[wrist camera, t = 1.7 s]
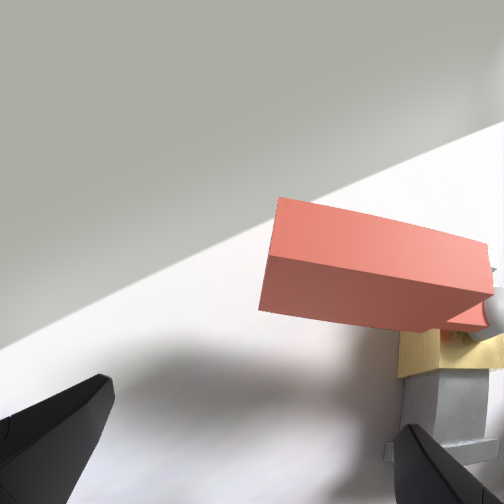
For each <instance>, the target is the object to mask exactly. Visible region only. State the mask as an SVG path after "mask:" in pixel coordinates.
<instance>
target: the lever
mask: <svg viewBox="0 0 504 504" xmlns="http://www.w3.org/2000/svg"><path fill="white" fill-rule="evenodd" d="M258 310H260V311H266V312H271V313H277V314H283V315H289V316H296V317H302V318H308V319H315V320H321V321H328V322H335V323H342V324H349V325H357V326H364V327H372V328H380V329H389V330H397V331H406V332H415V333H424V332H426V331H428V330H430V329H442V330H452V331H463V332H467V333H468V334H469V336H470V337H471V338H472V339H473V340H475V341H478V342H482V341H485V340H488V339H490V338H492V337H495V336H497V335H500V334H502V333H504V288H502V287H499V286H495V287H494V284H493V276H492V269H491V263H490V257H489V251H488V246H487V244H485V243H482V242H478V241H474V240H471V239H467V238H463V237H460V236H456V235H452V234H448V233H444V232H440V231H437V230H433V229H429V228H425V227H420V226H416V225H412V224H408V223H404V222H400V221H395V220H391V219H386V218H382V217H378V216H373V215H368V214H364V213H359V212H354V211H350V210H345V209H340V208H335V207H330V206H325V205H320V204H314V203H309V202H304V201H298V200H293V199H287V198H281V197H279V199H278V205H277V210H276V215H275V221H274V226H273V232H272V237H271V242H270V247H269V253H268V258H267V263H266V269H265V274H264V280H263V286H262V291H261V297H260V303H259V308H258Z"/></svg>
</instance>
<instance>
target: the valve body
mask: <svg viewBox="0 0 504 504" xmlns="http://www.w3.org/2000/svg"><path fill="white" fill-rule="evenodd" d="M488 251H489V257H490V263H491V269H492V272H494V271H495V270H497V269H498V262H497V257H496V252H495V251H492V250H488ZM495 286H499V285H496V284H494V287H495ZM503 368H504V336H503V333H502V334H500V335H497V336H495V337H492V338H490V339H488V340H485V341H482V342H478V341H475V340H473V339H472V338H471V337H470V336H469V334H468V333H467V332H463V331H452V330H442V329H430V330H428V331H426V332H424V333H415V332H406V331H400V343H399V360H398V374H397V378H404V379H405V385H404V395H403V404H402V413H401V420H400V428H399V432H400V431H401V429H402V428H403V426H404V425H406V424H412V423H416V424H418V425H420V426H421V427H422V428H423V429H424V430H425V431H426V432H427V433H428V434H429V435H430V436H431V437H432V438H433V439H435V440H436V441H437V442H438V443H439V444H440V445H441V446H442V447H443V448H444V449H445V450H446V451H447V452H448V453H449V454H450V455H452V456H453V457H454V458H455V459H456V460H457V461H458V462H459V463H460V464H461V465H462V466H465V465H470V464H474V463H479V462H483V461H487V460H491V459H495V458H498V453H499V447H500V441H501V438H484V433H485V425H486V415H487V404H488V390H489V372H492V371H496V370H499V369H503ZM393 443H394V442H386V447H385V452H384V458H383V461H387V462H390V463H393V464H394V456H393Z"/></svg>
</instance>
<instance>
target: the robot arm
mask: <svg viewBox="0 0 504 504" xmlns="http://www.w3.org/2000/svg"><path fill="white" fill-rule="evenodd" d="M114 400H115V394H114V387H113V381H112V379H111V377H109V376H106V375H103V374H97V375H95V376H93V377H91V378H89V379H87V380H85V381H83V382H81V383H79V384H77V385H75V386H72V387H70V388H68V389H66V390H64V391H62V392H60V393H58V394H56V395H54V396H52V397H50V398H48V399H45V400H43V401H41V402H39V403H37V404H35V405H33V406H31V407H28V408H26V409H24V410H22V411H20V412H18V413H15V414H13V415H11V417H10V416H9V417H6V418H4V419H2V420H0V504H66V503H67V501H68V499H69V497H70V495H71V493H72V491H73V489H74V487H75V485H76V483H77V481H78V480H79V478H80V476H81V474H82V472H83V470H84V468H85V466H86V464H87V462H88V460H89V458H90V457H91V455H92V453H93V451H94V449H95V447H96V445H97V443H98V441H99V439H100V437H101V434H102V432H103V429H104V426H105V424H106V421H107V419H108V416H109V414H110V411H111V409H112V406H113V404H114ZM393 456H394V486H395V495H396V503H397V504H504V503H503V502H502V501H501V500H499V499H498V498H497V497H496V496H495V495H494V494H492V493H491V492H490V491H489V490H488V489H487V488H486V487H485V486H483V484H481V483H480V482H479V481H478V480H477V479H476V478H475V477H474V476H473V475H472V474H471V473H470V472H469V471H468V470H466V469H465V468H464V467H463V466H462V465H461V464H460V463H459V462H458V461H457V460H456V459H455V458H454V457H453V456H452V455H450V454H449V453H448V452H447V451H446V450H445V449H444V448H443V447H442V446H441V445H440V444H439V443H438V442H437V441H436V440H435V439H433V438H432V437H431V436H430V435H429V434H428V433H427V432H426V431H425V430H424V429H423V428H422V427H421V426H420V425H418V424H416V423H412V424H406V425H404V426H403V428H402V429H401V431H400V432H399V434H398V435H397V437H396V438H395V440H394V443H393Z"/></svg>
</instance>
